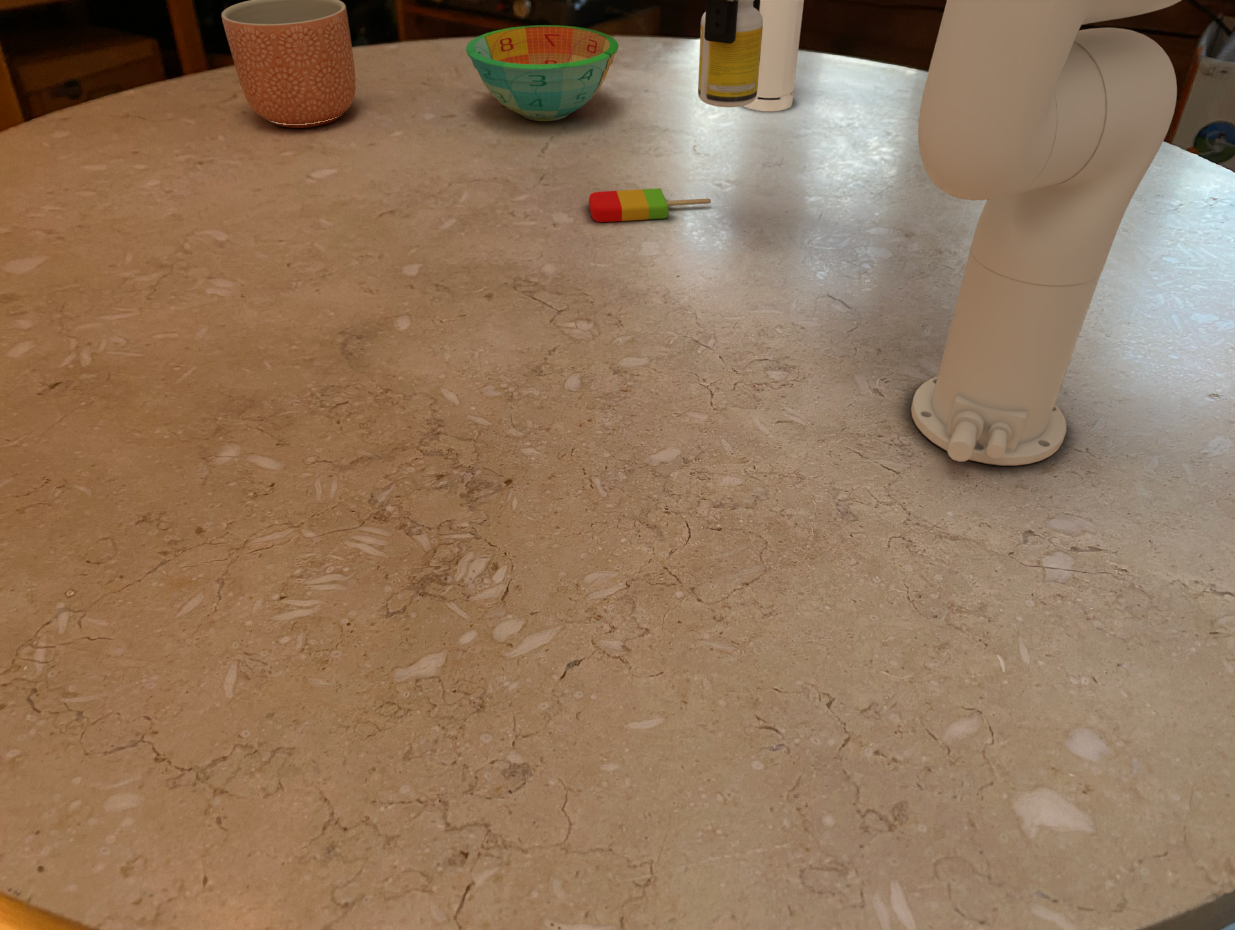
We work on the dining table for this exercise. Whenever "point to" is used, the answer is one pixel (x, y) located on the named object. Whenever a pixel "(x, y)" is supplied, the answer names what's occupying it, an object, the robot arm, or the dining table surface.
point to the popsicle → (633, 205)
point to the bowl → (543, 67)
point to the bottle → (778, 53)
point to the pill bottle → (732, 62)
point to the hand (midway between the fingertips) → (731, 31)
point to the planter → (293, 58)
